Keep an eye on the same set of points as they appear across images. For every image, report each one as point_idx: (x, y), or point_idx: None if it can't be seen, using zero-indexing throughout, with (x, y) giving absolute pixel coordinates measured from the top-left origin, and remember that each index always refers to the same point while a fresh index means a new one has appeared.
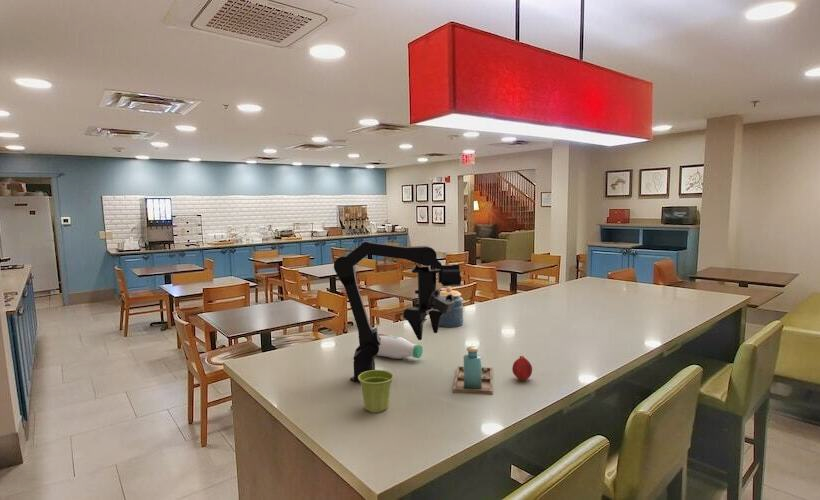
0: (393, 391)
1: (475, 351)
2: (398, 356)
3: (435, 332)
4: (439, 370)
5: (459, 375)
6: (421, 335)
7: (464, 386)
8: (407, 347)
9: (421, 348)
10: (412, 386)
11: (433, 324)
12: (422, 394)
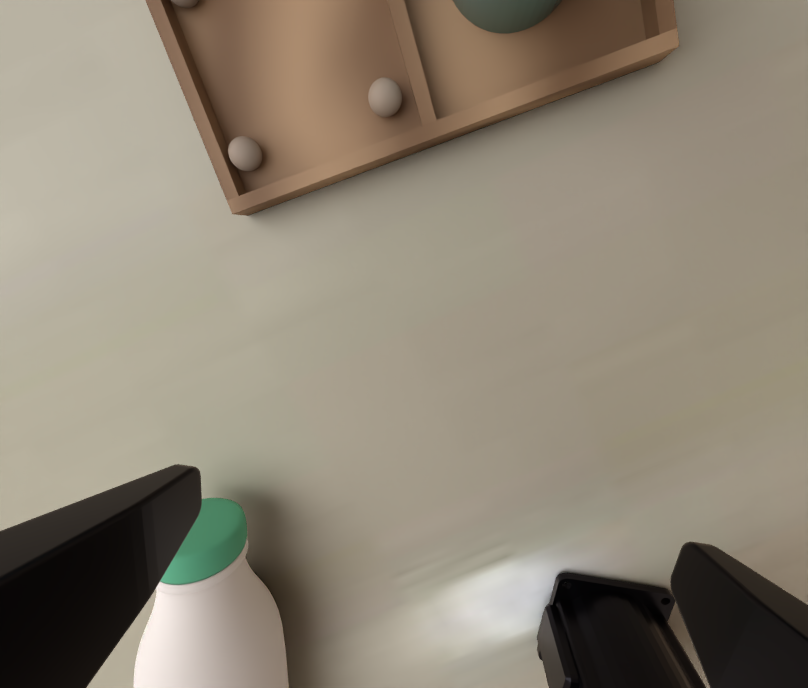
0: (721, 428)
1: None
2: (274, 602)
3: (197, 487)
4: (304, 325)
5: (347, 151)
6: (799, 610)
7: (555, 5)
8: (224, 612)
9: None
10: (614, 364)
11: (73, 656)
12: (722, 256)
